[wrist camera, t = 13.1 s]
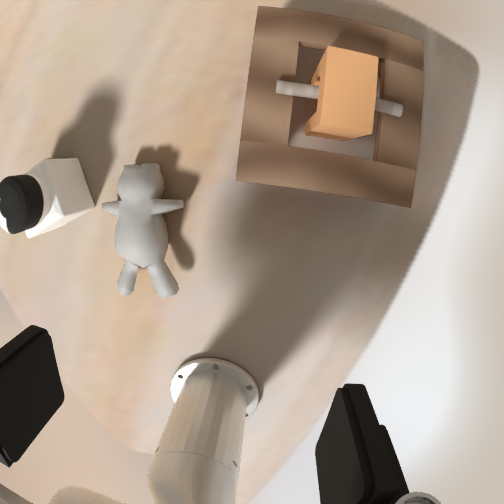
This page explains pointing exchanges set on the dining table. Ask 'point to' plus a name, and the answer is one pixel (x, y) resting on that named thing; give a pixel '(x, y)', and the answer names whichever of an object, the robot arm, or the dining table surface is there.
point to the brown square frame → (284, 88)
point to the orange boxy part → (344, 95)
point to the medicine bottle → (44, 197)
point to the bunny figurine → (143, 228)
